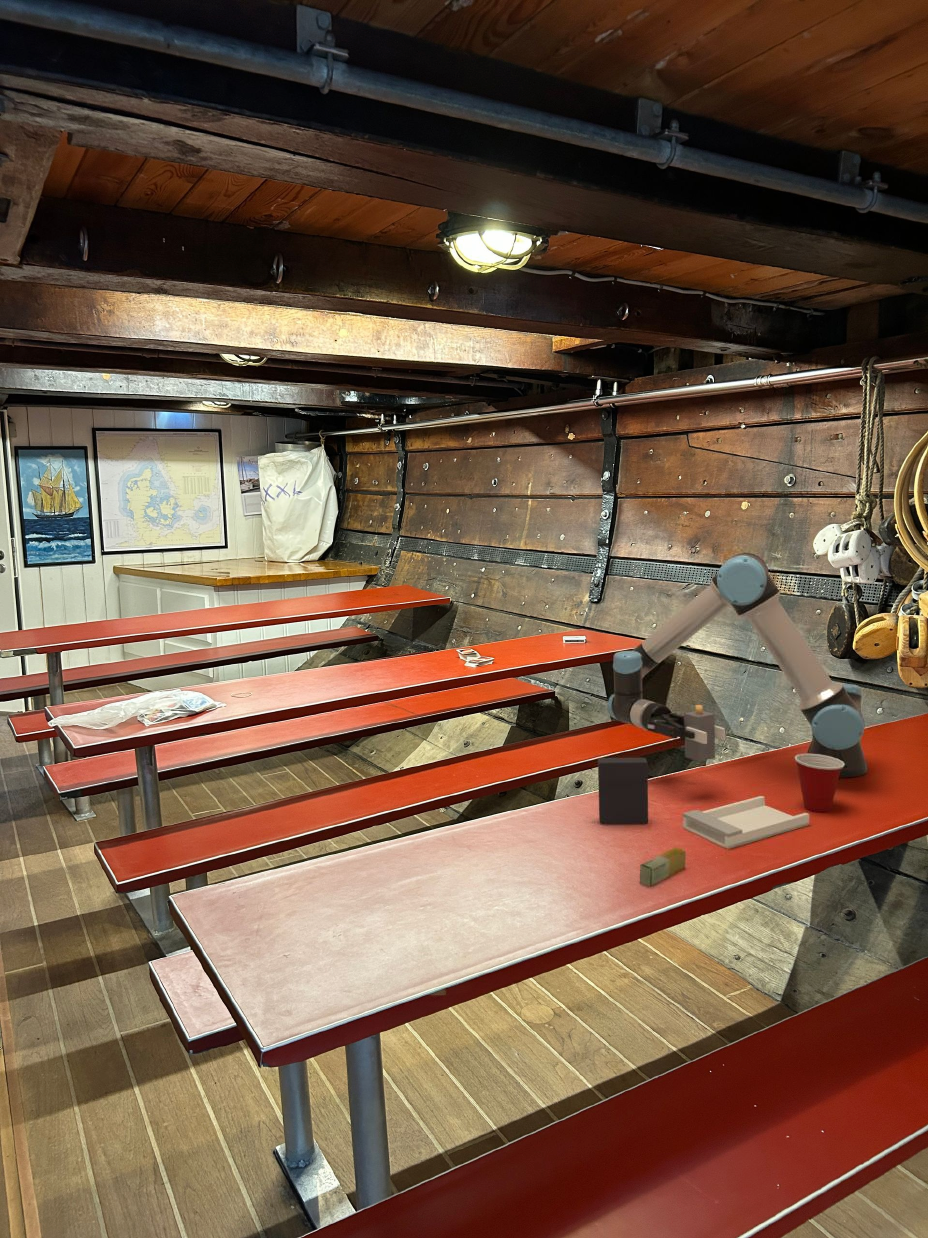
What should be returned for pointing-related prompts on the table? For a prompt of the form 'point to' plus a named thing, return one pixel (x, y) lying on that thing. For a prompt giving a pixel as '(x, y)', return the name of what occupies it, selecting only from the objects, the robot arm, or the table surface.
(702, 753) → the grey bottle with cork
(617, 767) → the calculator
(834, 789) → the plastic cup
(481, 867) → the table surface
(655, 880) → the medication box
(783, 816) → the tray
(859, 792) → the table surface
